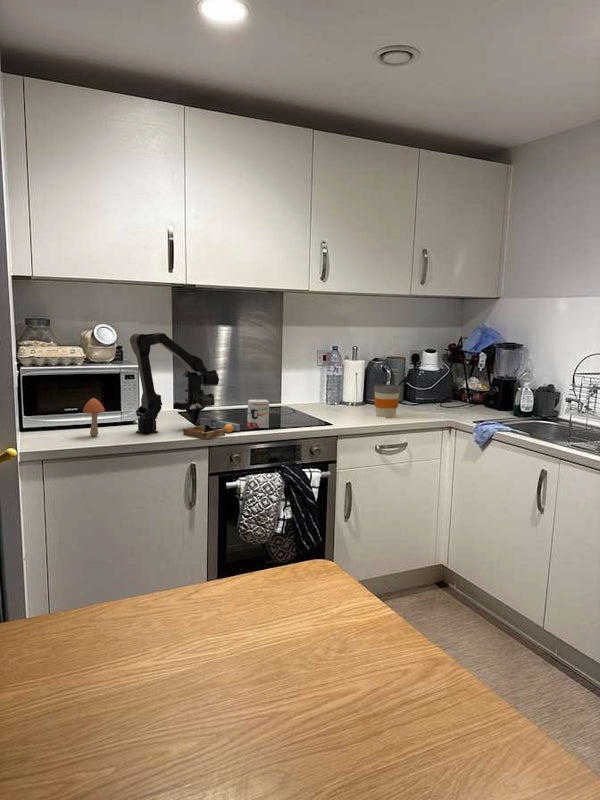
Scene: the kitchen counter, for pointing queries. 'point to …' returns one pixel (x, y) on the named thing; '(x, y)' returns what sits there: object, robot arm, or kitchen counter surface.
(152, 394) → the robot arm
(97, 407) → the mushroom
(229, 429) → the ball
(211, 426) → the post
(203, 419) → the lever
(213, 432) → the wooden tray
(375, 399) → the reusable coffee cup
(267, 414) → the ink box
